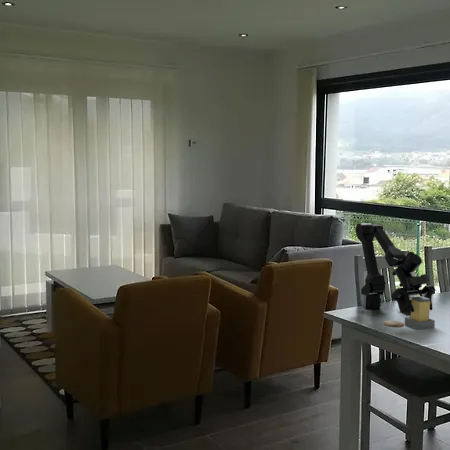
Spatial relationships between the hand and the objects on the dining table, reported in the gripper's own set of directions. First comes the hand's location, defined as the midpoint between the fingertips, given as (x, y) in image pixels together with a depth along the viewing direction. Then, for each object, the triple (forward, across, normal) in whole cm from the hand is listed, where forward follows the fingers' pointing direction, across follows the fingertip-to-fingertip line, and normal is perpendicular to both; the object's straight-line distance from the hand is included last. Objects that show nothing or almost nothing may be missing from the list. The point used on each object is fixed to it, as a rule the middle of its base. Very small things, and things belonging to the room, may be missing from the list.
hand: (422, 310), depth 243 cm
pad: (0, -9, +10) cm, 13 cm away
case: (+1, 0, +9) cm, 9 cm away
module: (+4, 0, +6) cm, 7 cm away
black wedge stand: (-8, +11, +19) cm, 23 cm away
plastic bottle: (-15, +16, +26) cm, 34 cm away
